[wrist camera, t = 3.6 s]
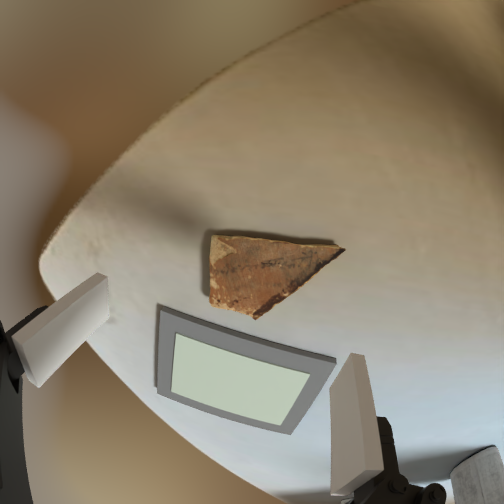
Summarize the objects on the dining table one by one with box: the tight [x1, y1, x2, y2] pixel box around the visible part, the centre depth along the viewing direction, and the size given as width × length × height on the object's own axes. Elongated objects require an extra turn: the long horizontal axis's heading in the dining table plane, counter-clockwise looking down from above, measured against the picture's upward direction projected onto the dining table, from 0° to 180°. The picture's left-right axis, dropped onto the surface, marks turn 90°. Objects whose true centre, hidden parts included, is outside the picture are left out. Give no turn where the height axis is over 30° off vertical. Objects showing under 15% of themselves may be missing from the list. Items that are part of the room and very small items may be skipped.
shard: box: [209, 235, 346, 320], centre depth 24 cm, size 11×8×2 cm
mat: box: [157, 307, 336, 435], centre depth 29 cm, size 14×18×1 cm
